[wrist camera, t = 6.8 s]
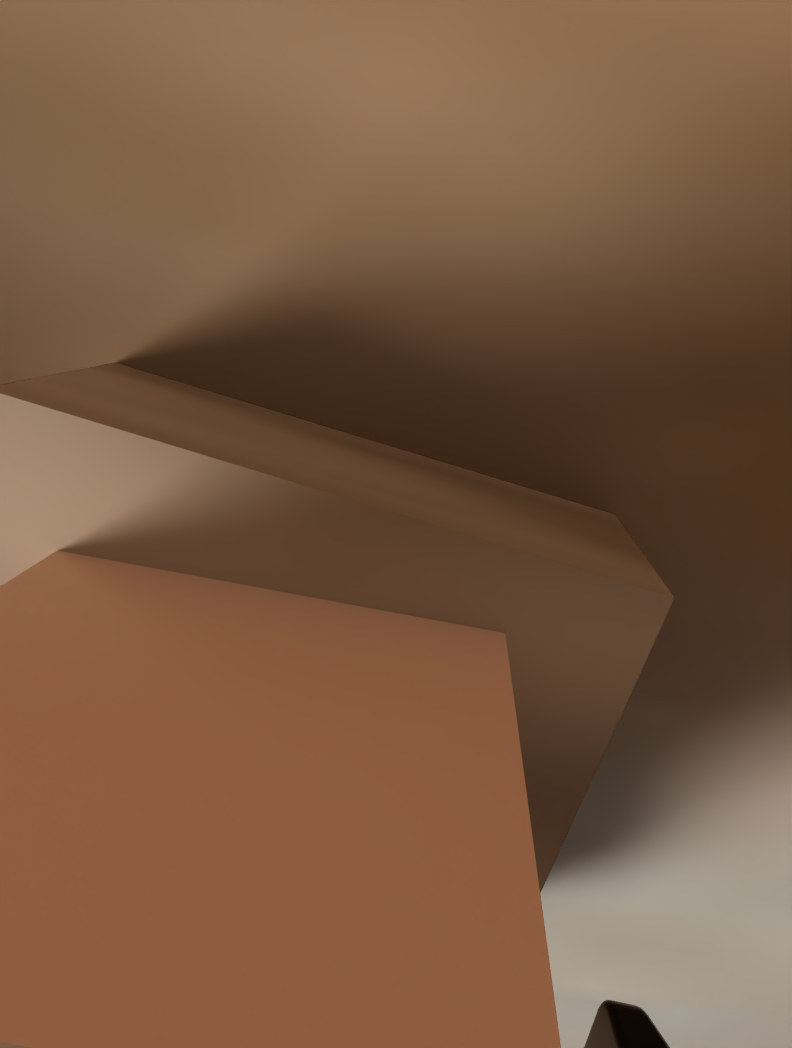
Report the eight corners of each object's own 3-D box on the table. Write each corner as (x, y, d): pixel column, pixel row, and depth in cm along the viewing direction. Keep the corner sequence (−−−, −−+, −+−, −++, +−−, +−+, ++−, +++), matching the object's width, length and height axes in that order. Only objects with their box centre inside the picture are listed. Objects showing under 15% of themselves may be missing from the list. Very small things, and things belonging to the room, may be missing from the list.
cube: (426, 976, 11) (389, 1680, 6) (52, 901, 11) (-357, 1507, 6) (504, 632, 9) (576, 1162, 4) (57, 550, 10) (-544, 928, 4)
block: (456, 887, 16) (456, 1077, 12) (58, 768, 16) (-72, 921, 12) (610, 508, 13) (675, 598, 9) (125, 360, 13) (-17, 387, 9)
